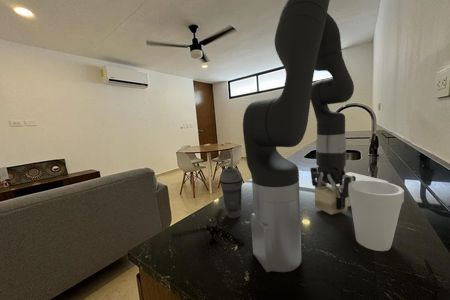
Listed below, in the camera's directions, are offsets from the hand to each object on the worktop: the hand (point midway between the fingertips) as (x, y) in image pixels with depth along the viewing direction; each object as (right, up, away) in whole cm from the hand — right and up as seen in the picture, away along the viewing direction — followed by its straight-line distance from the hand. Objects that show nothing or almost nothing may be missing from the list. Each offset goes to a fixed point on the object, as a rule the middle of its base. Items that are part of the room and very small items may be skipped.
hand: (330, 204), depth 58 cm
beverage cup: (-29, -5, +4) cm, 30 cm away
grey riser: (+13, +1, +12) cm, 18 cm away
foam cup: (+2, -5, -14) cm, 15 cm away
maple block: (0, -1, 0) cm, 1 cm away
